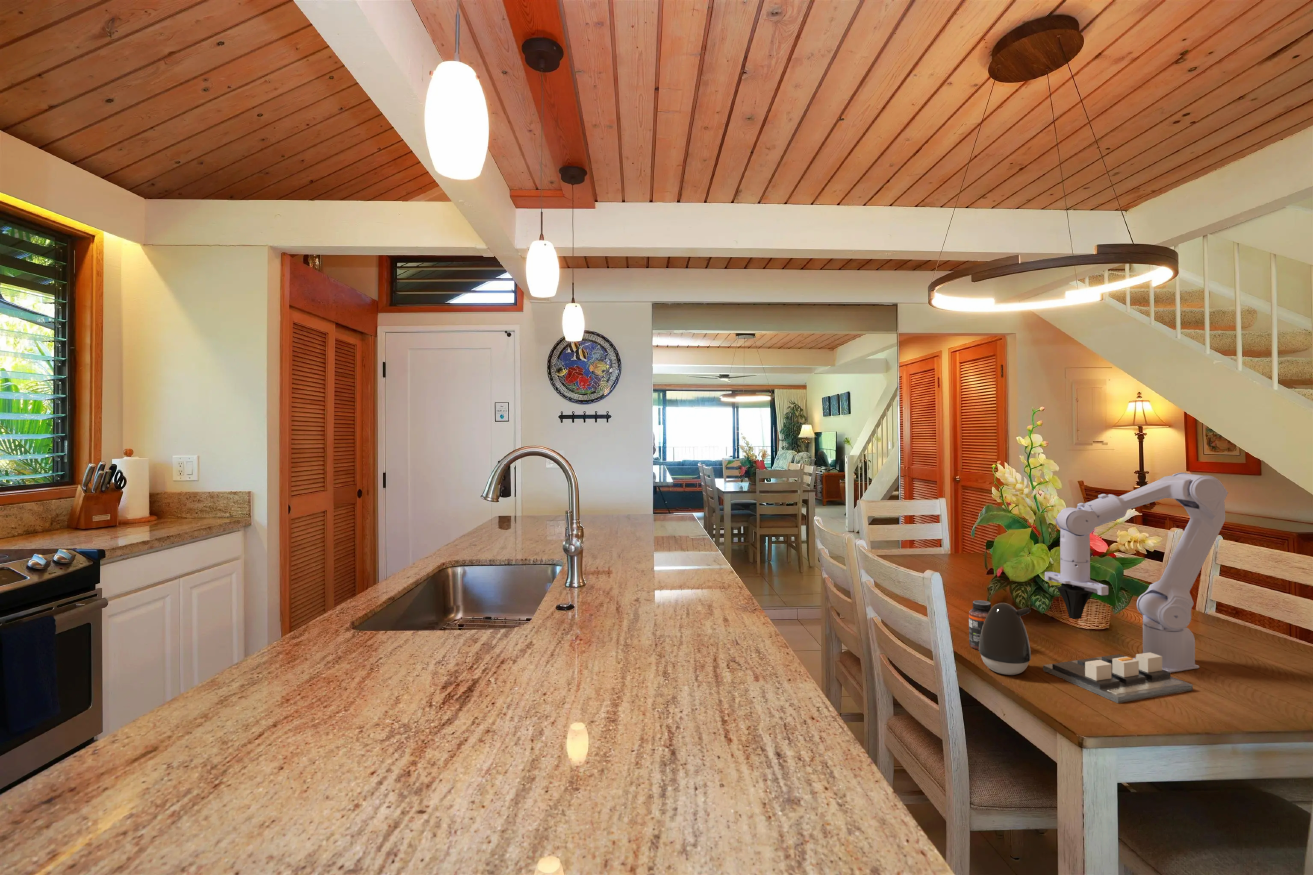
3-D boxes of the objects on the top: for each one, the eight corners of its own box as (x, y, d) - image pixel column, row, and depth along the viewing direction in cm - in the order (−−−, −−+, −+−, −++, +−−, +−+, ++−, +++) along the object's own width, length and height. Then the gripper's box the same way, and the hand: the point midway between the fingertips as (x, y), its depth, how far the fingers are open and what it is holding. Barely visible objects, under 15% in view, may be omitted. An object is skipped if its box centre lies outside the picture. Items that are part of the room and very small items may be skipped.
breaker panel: (1112, 660, 143) (1112, 650, 143) (1192, 690, 127) (1192, 679, 127) (1043, 670, 138) (1043, 660, 138) (1117, 703, 122) (1117, 692, 121)
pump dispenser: (1039, 681, 132) (1039, 611, 132) (987, 678, 134) (986, 608, 134) (1021, 663, 142) (1021, 597, 142) (973, 660, 144) (972, 596, 144)
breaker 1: (1099, 673, 130) (1099, 659, 130) (1111, 678, 128) (1111, 663, 128) (1085, 675, 129) (1085, 661, 129) (1096, 680, 127) (1096, 666, 127)
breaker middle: (1126, 670, 132) (1126, 655, 132) (1138, 674, 129) (1138, 659, 129) (1112, 672, 131) (1112, 657, 131) (1124, 677, 128) (1124, 661, 128)
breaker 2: (1150, 665, 134) (1150, 652, 134) (1162, 670, 131) (1162, 656, 131) (1136, 668, 133) (1136, 654, 133) (1147, 672, 130) (1147, 658, 130)
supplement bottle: (996, 645, 154) (995, 600, 153) (996, 653, 148) (996, 606, 148) (969, 641, 156) (969, 597, 156) (968, 649, 151) (968, 603, 151)
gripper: (1034, 554, 149) (1034, 610, 149) (1090, 568, 135) (1091, 629, 135) (1057, 552, 151) (1057, 607, 151) (1115, 565, 137) (1115, 626, 137)
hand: (1075, 617), depth 143 cm, fingers closed
